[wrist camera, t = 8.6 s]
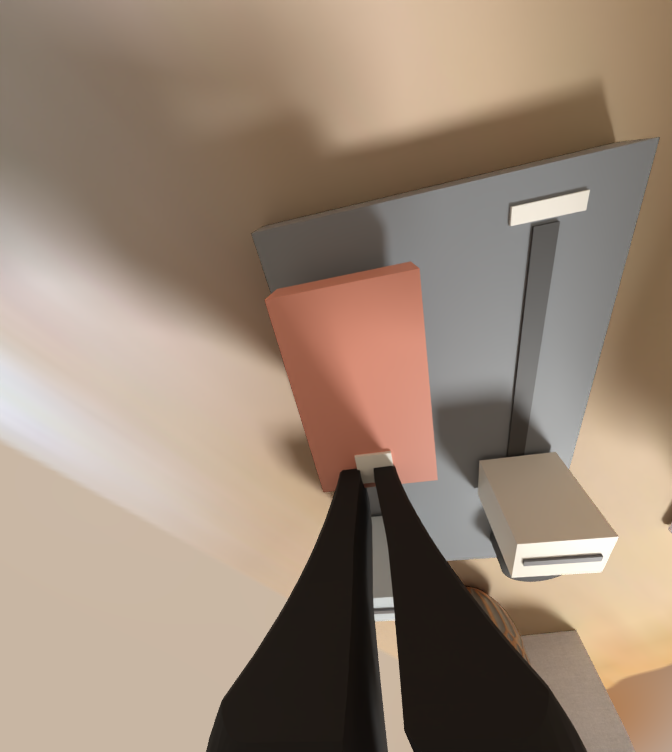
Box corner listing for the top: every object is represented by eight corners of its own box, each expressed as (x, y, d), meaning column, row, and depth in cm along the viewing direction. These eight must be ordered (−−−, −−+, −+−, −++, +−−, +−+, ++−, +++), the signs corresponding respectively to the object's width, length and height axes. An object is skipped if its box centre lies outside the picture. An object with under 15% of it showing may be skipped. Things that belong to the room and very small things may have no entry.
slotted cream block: (555, 451, 14) (620, 539, 10) (547, 486, 15) (603, 575, 12) (479, 460, 14) (518, 547, 11) (477, 494, 15) (512, 580, 12)
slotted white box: (411, 513, 16) (427, 597, 13) (414, 538, 18) (429, 621, 14) (351, 518, 17) (352, 601, 14) (359, 543, 18) (361, 624, 15)
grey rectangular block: (496, 638, 29) (555, 825, 21) (575, 629, 28) (675, 828, 19) (501, 651, 31) (558, 829, 23) (576, 644, 29) (667, 833, 21)
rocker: (410, 261, 9) (420, 268, 8) (429, 452, 12) (438, 482, 11) (276, 288, 9) (263, 300, 8) (326, 464, 12) (323, 494, 11)
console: (617, 142, 9) (692, 133, 7) (533, 529, 20) (554, 570, 18) (262, 226, 11) (242, 238, 9) (360, 543, 21) (361, 582, 19)
